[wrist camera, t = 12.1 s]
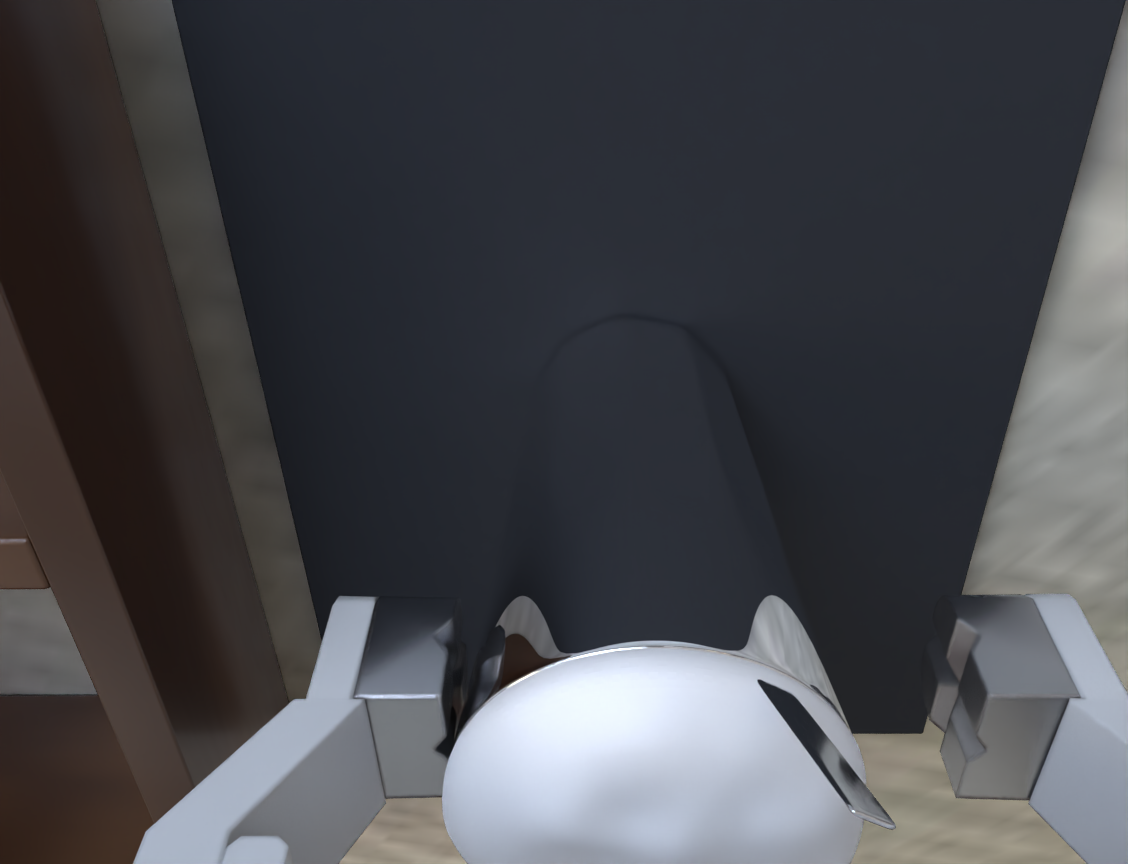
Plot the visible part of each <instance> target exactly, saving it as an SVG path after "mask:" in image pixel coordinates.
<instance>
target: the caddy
mask: <svg viewBox="0 0 1128 864" xmlns="http://www.w3.org/2000/svg"><path fill="white" fill-rule="evenodd" d="M49 587H51V588H52V591H53V593H54V595H55V598H56V600H57V602H58V605H59V607H60V609H61V611H62V614H63V616H64V618H65V621H66V623H67V625H68V627H69V630H70V632H71V634H72V637H73V639H74V641H75V643H76V646H77V648H78V650H79V653H80V655H81V657H82V660H83V662H84V664H85V666H86V669H87V671H88V673H89V676H90V678H91V680H92V682H93V685H94V687H95V689H96V692H97V694H98V695H76V696H0V864H133V862H134V860H135V857H136V855H137V852H138V850H139V847H140V845H141V842H142V840H143V837H144V834H145V832H146V831H147V830H148V829H149V828H150V827H151V826H153V825H154V824H155V823H156V822H157V821H158V820H159V819H160V818H161V817H163V816H164V815H165V814H166V813H167V812H168V811H169V810H170V809H172V808H173V807H174V806H175V805H176V804H177V803H178V802H179V801H180V800H182V799H183V798H184V797H185V796H186V795H187V794H188V793H189V792H191V791H192V790H193V789H194V788H195V787H196V786H197V785H198V784H199V783H201V782H202V781H203V780H204V779H205V778H206V777H207V776H208V775H210V774H211V773H212V772H213V771H214V770H215V769H216V768H217V767H218V766H220V765H221V764H222V763H223V762H224V761H225V760H226V759H227V758H229V757H230V756H231V755H232V754H233V753H234V752H235V751H236V750H238V749H239V748H240V747H241V746H242V745H243V744H244V743H245V742H246V741H248V740H249V739H250V738H251V737H252V736H253V735H254V734H255V733H257V732H258V731H259V730H260V729H261V728H262V727H263V726H264V725H265V724H267V723H268V722H269V721H270V720H271V719H272V718H273V717H274V716H276V715H277V714H278V713H279V712H280V711H281V710H282V709H283V708H284V707H286V706H287V705H288V704H289V702H288V698H287V694H286V691H285V687H284V684H283V680H282V676H281V673H280V669H279V665H278V662H277V658H276V654H275V651H274V647H273V644H272V640H271V636H270V633H269V629H268V625H267V622H266V618H265V614H264V611H263V607H262V604H261V600H260V596H259V593H258V589H257V585H256V582H255V578H254V575H253V571H252V567H251V564H250V560H249V556H248V553H247V549H246V545H245V542H244V538H243V535H242V531H241V527H240V524H239V520H238V516H237V513H236V509H235V505H234V502H233V498H232V495H231V491H230V487H229V484H228V480H227V476H226V473H225V469H224V466H223V462H222V458H221V455H220V451H219V447H218V444H217V440H216V436H215V433H214V429H213V426H212V422H211V418H210V415H209V411H208V407H207V404H206V400H205V396H204V393H203V389H202V386H201V382H200V378H199V375H198V371H197V367H196V364H195V360H194V357H193V353H192V349H191V346H190V342H189V338H188V335H187V331H186V327H185V324H184V320H183V317H182V313H181V309H180V306H179V302H178V298H177V295H176V291H175V287H174V284H173V280H172V277H171V273H170V269H169V266H168V262H167V258H166V255H165V251H164V248H163V244H162V240H161V237H160V233H159V229H158V226H157V222H156V218H155V215H154V211H153V208H152V204H151V200H150V197H149V193H148V189H147V186H146V182H145V178H144V175H143V171H142V168H141V164H140V160H139V157H138V153H137V149H136V146H135V142H134V139H133V135H132V131H131V128H130V124H129V120H128V117H127V113H126V109H125V106H124V102H123V99H122V95H121V91H120V88H119V84H118V80H117V77H116V73H115V69H114V66H113V62H112V59H111V55H110V51H109V48H108V44H107V40H106V37H105V33H104V30H103V26H102V22H101V19H100V15H99V11H98V8H97V4H96V0H0V589H47V588H49Z"/></svg>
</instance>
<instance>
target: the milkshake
mask: <svg viewBox="0 0 1128 864" xmlns="http://www.w3.org/2000/svg"><path fill="white" fill-rule="evenodd" d="M442 809H443V818H444V822H445V826H446V829H447V832H448V834H449V836H450V838H451V840H452V842H453V844H454V845H455V847H456V849H457V850H458V852H459V853H460V855H461V856H462V857H463V858H464V860H465V861H466V862H467V864H850V863H851V861H852V859H853V856H854V854H855V852H856V849H857V846H858V843H859V841H860V837H861V833H862V828H863V823H864V820H866V821H869V822H872V823H874V824H877V825H879V826H882V827H885V828H887V829H891V830H893V829H895V828H896V825H895V823H894V822H893V820H892V819H891V818H890V816H889V815H888V814H887V812H886V811H885V810H884V808H883V807H882V806H881V805H880V803H879V802H878V801H877V799H876V798H875V797H874V796H873V794H872V793H871V792H870V790H869V789H868V788H867V787H866V773H865V767H864V762H863V758H862V755H861V752H860V749H859V747H858V745H857V743H856V741H855V739H854V737H853V734H852V732H851V729H850V726H849V723H848V721H847V718H846V716H845V713H844V710H843V708H842V705H841V702H840V700H839V697H838V695H837V692H836V689H835V687H834V684H833V681H832V679H831V676H830V674H829V671H828V668H827V666H826V663H825V660H824V658H823V655H822V653H821V650H820V647H819V645H818V642H817V639H816V637H815V634H814V632H813V629H812V626H811V624H810V621H809V618H808V616H807V613H806V610H805V608H804V605H803V602H802V600H801V597H800V595H799V592H798V589H797V586H796V584H795V581H794V578H793V576H792V573H791V570H790V567H789V564H788V561H787V558H786V555H785V552H784V549H783V546H782V543H781V540H780V537H779V534H778V530H777V527H776V524H775V521H774V518H773V515H772V512H771V509H770V506H769V503H768V500H767V497H766V494H765V491H764V488H763V485H762V482H761V479H760V476H759V474H758V471H757V468H756V465H755V462H754V459H753V456H752V453H751V450H750V447H749V444H748V441H747V438H746V435H745V432H744V429H743V426H742V423H741V420H740V417H739V414H738V411H737V408H736V405H735V402H734V399H733V396H732V393H731V390H730V387H729V384H728V381H727V378H726V376H725V373H724V370H723V368H722V366H721V365H720V364H719V363H718V362H717V361H716V360H715V359H714V358H713V357H712V356H711V355H710V354H709V353H708V352H707V351H706V350H705V349H704V348H703V346H702V345H701V344H700V343H699V342H698V341H697V340H696V339H695V338H694V337H693V336H692V335H691V334H690V333H689V332H688V331H687V330H686V329H685V328H684V327H683V326H678V325H673V324H667V323H662V322H657V321H651V320H646V319H641V318H636V317H631V316H626V315H622V316H620V317H617V318H615V319H612V320H610V321H607V322H604V323H602V324H599V325H597V326H594V327H591V328H589V329H586V330H583V331H581V332H578V333H576V334H573V335H570V336H568V337H567V338H566V339H565V341H564V342H563V344H562V345H561V347H560V348H559V350H558V351H557V353H556V354H555V356H554V358H553V359H552V361H551V362H550V364H549V365H548V367H547V368H546V370H545V371H544V373H543V374H542V376H541V377H540V379H539V380H538V382H537V384H536V388H535V392H534V397H533V401H532V406H531V411H530V415H529V420H528V425H527V429H526V434H525V438H524V443H523V448H522V452H521V457H520V462H519V466H518V471H517V476H516V480H515V485H514V490H513V494H512V499H511V504H510V508H509V513H508V518H507V522H506V527H505V532H504V536H503V541H502V546H501V551H500V556H499V561H498V565H497V570H496V575H495V580H494V585H493V589H492V593H491V598H490V602H489V606H488V610H487V614H486V618H485V622H484V626H483V630H482V634H481V638H480V641H479V645H478V649H477V653H476V657H475V661H474V665H473V669H472V673H471V677H470V681H469V685H468V688H467V692H466V696H465V700H464V704H463V708H462V712H461V716H460V720H459V724H458V727H457V731H456V735H455V739H454V743H453V747H452V752H451V755H450V757H449V760H448V763H447V767H446V771H445V776H444V783H443V793H442Z"/></svg>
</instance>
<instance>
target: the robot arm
mask: <svg viewBox="0 0 1128 864" xmlns="http://www.w3.org/2000/svg"><path fill="white" fill-rule="evenodd" d="M932 620H933V623H934V626H935V629H936V631H937V635H935V636H934V637H933V638H932V639H930V640H929V641H928V642H927V643H926V644H925V646H924V651H923V656H922V660H921V688H922V694H923V699H924V704H925V707H926V710H927V713H928V717H929V720H930V721H931V722H933V723H934V724H935V725H936V726H937V727H938V728H940V729H941V730H942V731H943V732H944V733H945V734H944V738H943V741H942V745H941V749H940V753H941V756H942V759H943V762H944V765H945V768H946V770H947V773H948V776H949V779H950V782H951V785H952V788H953V791H954V794H955V797H956V798H965V799H1000V800H1030V801H1029V803H1028V804H1029V805H1030V806H1031V807H1032V808H1033V809H1034V810H1035V811H1036V812H1037V813H1038V814H1039V815H1040V816H1041V817H1042V818H1043V819H1044V820H1045V821H1046V822H1047V823H1048V824H1049V825H1050V826H1051V827H1052V828H1053V829H1054V830H1055V831H1056V832H1057V833H1058V835H1059V836H1060V837H1061V838H1062V839H1063V840H1064V841H1065V842H1066V843H1067V844H1068V845H1069V846H1070V847H1071V848H1072V849H1073V850H1074V851H1075V852H1076V853H1077V854H1078V855H1079V856H1080V857H1081V858H1082V859H1083V860H1084V861H1085V862H1086V863H1087V864H1128V693H1127V691H1126V689H1125V688H1124V686H1123V684H1122V682H1121V680H1120V679H1119V677H1118V675H1117V673H1116V671H1115V669H1114V668H1113V666H1112V664H1111V662H1110V660H1109V659H1108V657H1107V655H1106V653H1105V651H1104V649H1103V648H1102V646H1101V644H1100V642H1099V640H1098V639H1097V637H1096V635H1095V633H1094V631H1093V630H1092V628H1091V626H1090V624H1089V622H1088V620H1087V619H1086V617H1085V615H1084V613H1083V611H1082V610H1081V608H1080V606H1079V604H1078V602H1077V601H1076V599H1075V598H1073V597H1072V596H1071V595H1069V594H1026V595H1021V594H1008V595H941V597H940V598H939V600H938V601H937V602H936V604H935V608H934V612H933V615H932ZM462 624H463V615H462V609H461V602H460V600H459V598H448V597H400V596H379V597H360V596H339V597H338V598H337V600H336V601H335V603H334V604H333V606H332V609H331V613H330V616H329V620H328V623H327V626H326V630H325V633H324V637H323V640H322V644H321V647H320V651H319V654H318V658H317V661H316V665H315V668H314V672H313V675H312V679H311V682H310V686H309V689H308V693H307V696H306V699H293V700H292V701H291V702H290V703H289V704H288V705H287V706H286V707H284V708H283V709H282V710H281V711H280V712H279V713H278V714H277V715H276V716H274V717H273V718H272V719H271V720H270V721H269V722H268V723H267V724H265V725H264V726H263V727H262V728H261V729H260V730H259V731H258V732H257V733H255V734H254V735H253V736H252V737H251V738H250V739H249V740H248V741H246V742H245V743H244V744H243V745H242V746H241V747H240V748H239V749H238V750H236V751H235V752H234V753H233V754H232V755H231V756H230V757H229V758H227V759H226V760H225V761H224V762H223V763H222V764H221V765H220V766H218V767H217V768H216V769H215V770H214V771H213V772H212V773H211V774H210V775H208V776H207V777H206V778H205V779H204V780H203V781H202V782H201V783H199V784H198V785H197V786H196V787H195V788H194V789H193V790H192V791H191V792H189V793H188V794H187V795H186V796H185V797H184V798H183V799H182V800H180V801H179V802H178V803H177V804H176V805H175V806H174V807H173V808H172V809H170V810H169V811H168V812H167V813H166V814H165V815H164V816H163V817H161V818H160V819H159V820H158V821H157V822H156V823H155V824H154V825H153V826H151V827H150V828H149V829H148V830H147V831H146V832H145V834H144V837H143V840H142V842H141V845H140V847H139V850H138V852H137V855H136V857H135V860H134V862H133V864H338V863H339V862H340V861H341V860H342V858H343V857H344V856H345V854H346V853H347V852H348V851H349V849H350V848H351V847H352V846H353V844H354V843H355V842H356V840H357V839H358V838H359V837H360V835H361V834H362V833H363V832H364V830H365V829H366V828H367V826H368V825H369V824H370V823H371V821H372V820H373V819H374V818H375V816H376V815H377V814H378V812H379V811H380V810H381V809H382V807H383V806H384V805H385V804H386V801H385V799H390V798H430V797H442V793H443V783H444V776H445V771H446V767H447V763H448V760H449V757H450V755H451V752H452V747H453V743H454V739H455V735H456V731H457V727H458V724H459V720H460V716H461V712H462V708H463V704H464V700H465V696H466V692H467V688H468V659H467V649H466V644H465V643H463V642H462V641H461V632H462Z"/></svg>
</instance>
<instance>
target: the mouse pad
mask: <svg viewBox="0 0 1128 864" xmlns="http://www.w3.org/2000/svg"><path fill="white" fill-rule="evenodd" d="M1125 1H1126V0H172V4H173V8H174V12H175V16H176V21H177V25H178V29H179V33H180V38H181V42H182V46H183V50H184V55H185V59H186V63H187V68H188V72H189V76H190V80H191V85H192V89H193V93H194V97H195V102H196V106H197V110H198V114H199V119H200V123H201V127H202V132H203V136H204V140H205V144H206V149H207V153H208V157H209V161H210V166H211V170H212V174H213V178H214V183H215V187H216V191H217V196H218V200H219V204H220V208H221V213H222V217H223V221H224V225H225V230H226V234H227V238H228V242H229V247H230V251H231V255H232V260H233V264H234V268H235V272H236V277H237V281H238V285H239V289H240V294H241V298H242V302H243V307H244V311H245V315H246V319H247V324H248V328H249V332H250V336H251V341H252V345H253V349H254V353H255V358H256V362H257V366H258V371H259V375H260V379H261V383H262V388H263V392H264V396H265V400H266V405H267V409H268V413H269V417H270V422H271V426H272V430H273V435H274V439H275V443H276V447H277V452H278V456H279V460H280V464H281V469H282V473H283V477H284V481H285V486H286V490H287V494H288V499H289V503H290V507H291V511H292V516H293V520H294V524H295V528H296V533H297V537H298V541H299V545H300V550H301V554H302V558H303V563H304V567H305V571H306V575H307V580H308V584H309V588H310V592H311V597H312V601H313V605H314V609H315V614H316V618H317V622H318V627H319V631H320V635H321V639H322V640H323V637H324V633H325V630H326V626H327V623H328V620H329V616H330V613H331V609H332V606H333V604H334V603H335V601H336V600H337V598H338V597H339V596H360V597H379V596H400V597H448V598H459V600H460V602H461V609H462V615H463V624H462V632H461V641H462V642H463V643H465V644H466V649H467V659H468V685H469V681H470V677H471V673H472V669H473V665H474V661H475V657H476V653H477V649H478V645H479V641H480V638H481V634H482V630H483V626H484V622H485V618H486V614H487V610H488V606H489V602H490V598H491V593H492V589H493V585H494V580H495V575H496V570H497V565H498V561H499V556H500V551H501V546H502V541H503V536H504V532H505V527H506V522H507V518H508V513H509V508H510V504H511V499H512V494H513V490H514V485H515V480H516V476H517V471H518V466H519V462H520V457H521V452H522V448H523V443H524V438H525V434H526V429H527V425H528V420H529V415H530V411H531V406H532V401H533V397H534V392H535V388H536V384H537V382H538V380H539V379H540V377H541V376H542V374H543V373H544V371H545V370H546V368H547V367H548V365H549V364H550V362H551V361H552V359H553V358H554V356H555V354H556V353H557V351H558V350H559V348H560V347H561V345H562V344H563V342H564V341H565V339H566V338H567V337H568V336H570V335H573V334H576V333H578V332H581V331H583V330H586V329H589V328H591V327H594V326H597V325H599V324H602V323H604V322H607V321H610V320H612V319H615V318H617V317H620V316H622V315H626V316H631V317H636V318H641V319H646V320H651V321H657V322H662V323H667V324H673V325H678V326H683V327H684V328H685V329H686V330H687V331H688V332H689V333H690V334H691V335H692V336H693V337H694V338H695V339H696V340H697V341H698V342H699V343H700V344H701V345H702V346H703V348H704V349H705V350H706V351H707V352H708V353H709V354H710V355H711V356H712V357H713V358H714V359H715V360H716V361H717V362H718V363H719V364H720V365H721V366H722V368H723V370H724V373H725V376H726V378H727V381H728V384H729V387H730V390H731V393H732V396H733V399H734V402H735V405H736V408H737V411H738V414H739V417H740V420H741V423H742V426H743V429H744V432H745V435H746V438H747V441H748V444H749V447H750V450H751V453H752V456H753V459H754V462H755V465H756V468H757V471H758V474H759V476H760V479H761V482H762V485H763V488H764V491H765V494H766V497H767V500H768V503H769V506H770V509H771V512H772V515H773V518H774V521H775V524H776V527H777V530H778V534H779V537H780V540H781V543H782V546H783V549H784V552H785V555H786V558H787V561H788V564H789V567H790V570H791V573H792V576H793V578H794V581H795V584H796V586H797V589H798V592H799V595H800V597H801V600H802V602H803V605H804V608H805V610H806V613H807V616H808V618H809V621H810V624H811V626H812V629H813V632H814V634H815V637H816V639H817V642H818V645H819V647H820V650H821V653H822V655H823V658H824V660H825V663H826V666H827V668H828V671H829V674H830V676H831V679H832V681H833V684H834V687H835V689H836V692H837V695H838V697H839V700H840V702H841V705H842V708H843V710H844V713H845V716H846V718H847V721H848V723H849V726H850V729H851V732H852V734H921V733H923V730H924V727H925V723H926V719H927V716H928V713H927V710H926V707H925V704H924V699H923V694H922V688H921V660H922V656H923V651H924V646H925V644H926V643H927V642H928V641H929V640H930V639H932V638H933V637H934V636H935V635H937V631H936V629H935V626H934V623H933V620H932V615H933V612H934V608H935V604H936V602H937V601H938V600H939V598H940V597H941V595H961V593H962V590H963V586H964V582H965V579H966V575H967V571H968V568H969V564H970V561H971V557H972V553H973V550H974V546H975V543H976V539H977V535H978V532H979V528H980V525H981V521H982V517H983V514H984V510H985V506H986V503H987V499H988V496H989V492H990V488H991V485H992V481H993V478H994V474H995V470H996V467H997V463H998V460H999V456H1000V452H1001V449H1002V445H1003V441H1004V438H1005V434H1006V431H1007V427H1008V423H1009V420H1010V416H1011V413H1012V409H1013V405H1014V402H1015V398H1016V395H1017V391H1018V387H1019V384H1020V380H1021V376H1022V373H1023V369H1024V366H1025V362H1026V358H1027V355H1028V351H1029V348H1030V344H1031V340H1032V337H1033V333H1034V330H1035V326H1036V322H1037V319H1038V315H1039V311H1040V308H1041V304H1042V301H1043V297H1044V293H1045V290H1046V286H1047V283H1048V279H1049V275H1050V272H1051V268H1052V265H1053V261H1054V257H1055V254H1056V250H1057V247H1058V243H1059V239H1060V236H1061V232H1062V228H1063V225H1064V221H1065V218H1066V214H1067V210H1068V207H1069V203H1070V200H1071V196H1072V192H1073V189H1074V185H1075V182H1076V178H1077V174H1078V171H1079V167H1080V163H1081V160H1082V156H1083V153H1084V149H1085V145H1086V142H1087V138H1088V135H1089V131H1090V127H1091V124H1092V120H1093V117H1094V113H1095V109H1096V106H1097V102H1098V98H1099V95H1100V91H1101V88H1102V84H1103V80H1104V77H1105V73H1106V70H1107V66H1108V62H1109V59H1110V55H1111V52H1112V48H1113V44H1114V41H1115V37H1116V33H1117V30H1118V26H1119V23H1120V19H1121V15H1122V12H1123V8H1124V5H1125Z"/></svg>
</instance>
